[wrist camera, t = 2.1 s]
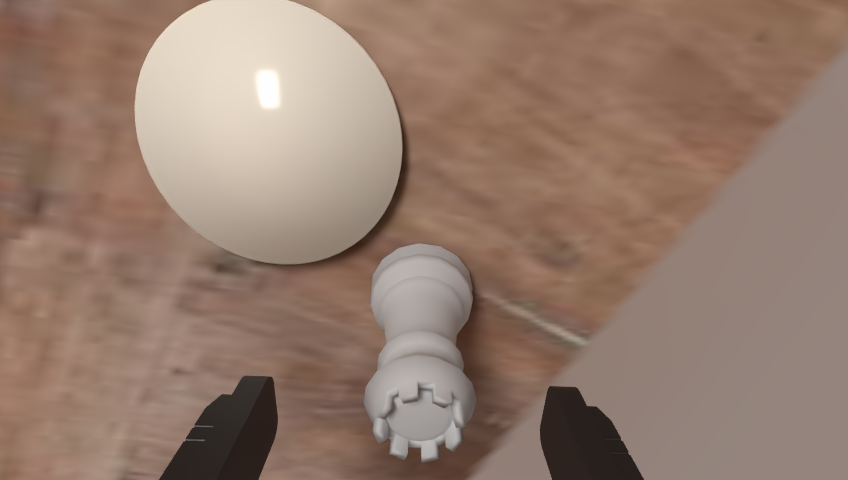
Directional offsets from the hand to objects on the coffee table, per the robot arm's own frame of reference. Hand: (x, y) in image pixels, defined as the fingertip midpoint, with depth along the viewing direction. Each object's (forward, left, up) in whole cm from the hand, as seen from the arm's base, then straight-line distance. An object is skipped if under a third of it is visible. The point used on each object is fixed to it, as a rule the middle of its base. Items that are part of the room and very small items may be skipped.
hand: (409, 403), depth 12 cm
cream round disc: (-6, -6, -7) cm, 11 cm away
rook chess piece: (0, 0, -7) cm, 7 cm away
